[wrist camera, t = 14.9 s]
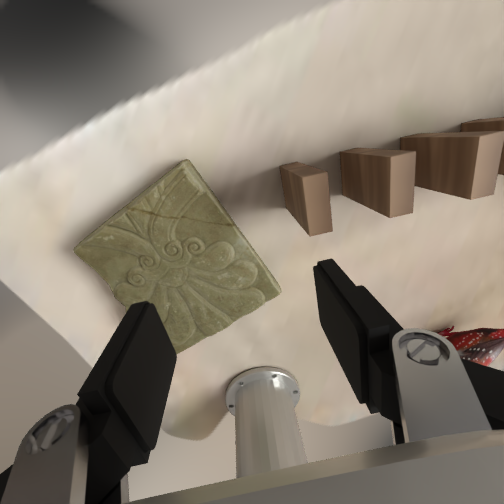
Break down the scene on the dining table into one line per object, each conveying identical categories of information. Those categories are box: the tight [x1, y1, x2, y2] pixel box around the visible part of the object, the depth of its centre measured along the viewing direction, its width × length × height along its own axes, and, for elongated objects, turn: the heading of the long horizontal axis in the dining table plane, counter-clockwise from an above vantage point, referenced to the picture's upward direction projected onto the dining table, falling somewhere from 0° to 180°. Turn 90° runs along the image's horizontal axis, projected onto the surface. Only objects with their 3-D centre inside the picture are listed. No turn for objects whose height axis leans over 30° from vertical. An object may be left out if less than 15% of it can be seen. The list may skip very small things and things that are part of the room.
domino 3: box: [400, 131, 504, 200], centre depth 25 cm, size 2×5×10 cm, turn 12°
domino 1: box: [280, 162, 333, 236], centre depth 25 cm, size 2×5×10 cm, turn 12°
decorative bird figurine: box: [437, 326, 504, 366], centre depth 36 cm, size 3×18×10 cm, turn 127°
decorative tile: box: [74, 159, 282, 354], centre depth 32 cm, size 19×20×4 cm
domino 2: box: [340, 148, 416, 218], centre depth 25 cm, size 2×5×10 cm, turn 12°
